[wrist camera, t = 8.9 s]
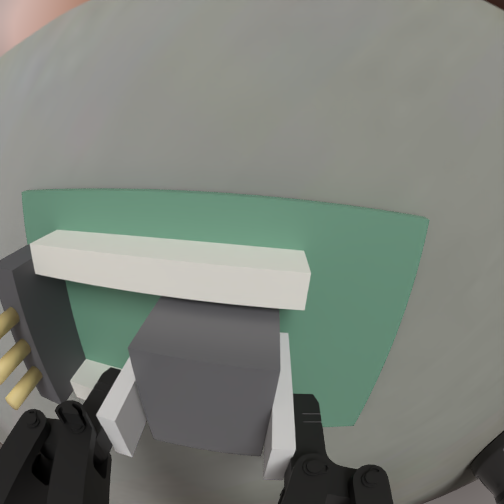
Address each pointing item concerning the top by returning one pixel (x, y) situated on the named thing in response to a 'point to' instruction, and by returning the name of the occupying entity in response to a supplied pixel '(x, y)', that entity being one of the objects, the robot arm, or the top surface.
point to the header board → (335, 288)
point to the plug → (208, 373)
